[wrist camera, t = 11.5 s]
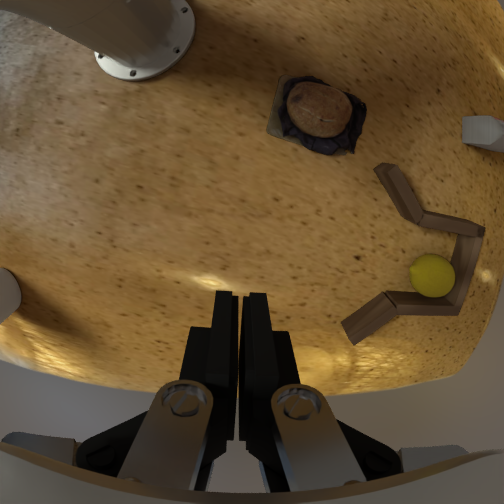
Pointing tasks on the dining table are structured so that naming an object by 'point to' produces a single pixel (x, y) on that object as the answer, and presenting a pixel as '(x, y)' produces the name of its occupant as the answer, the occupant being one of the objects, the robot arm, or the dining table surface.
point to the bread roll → (316, 115)
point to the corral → (415, 302)
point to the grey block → (483, 132)
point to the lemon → (432, 275)
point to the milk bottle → (8, 294)
